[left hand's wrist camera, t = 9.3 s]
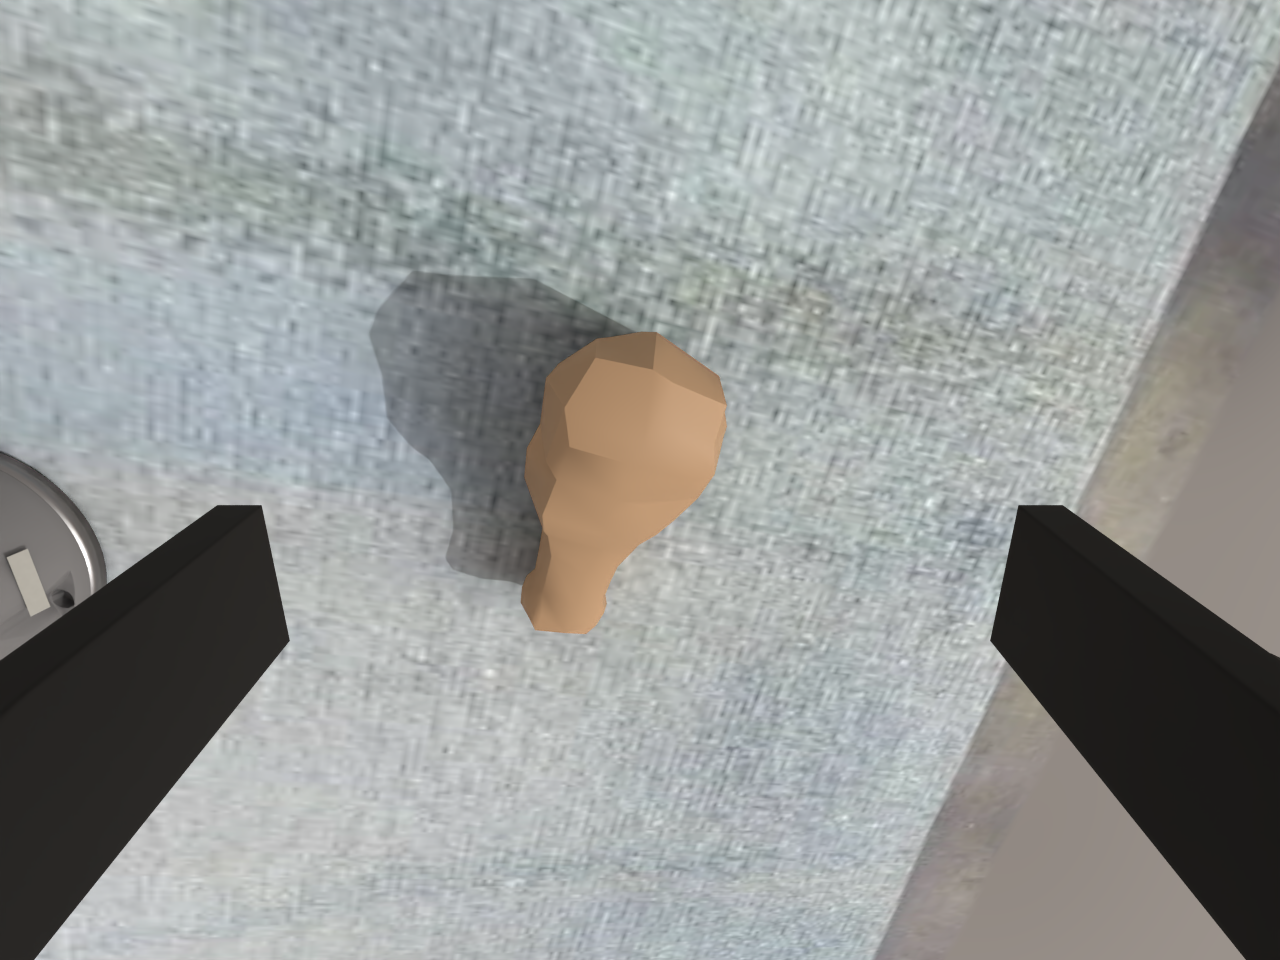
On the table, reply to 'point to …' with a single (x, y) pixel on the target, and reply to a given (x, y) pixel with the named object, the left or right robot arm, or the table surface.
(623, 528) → the squash
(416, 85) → the table surface
